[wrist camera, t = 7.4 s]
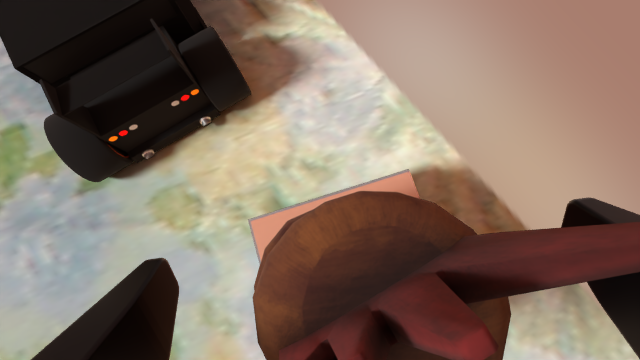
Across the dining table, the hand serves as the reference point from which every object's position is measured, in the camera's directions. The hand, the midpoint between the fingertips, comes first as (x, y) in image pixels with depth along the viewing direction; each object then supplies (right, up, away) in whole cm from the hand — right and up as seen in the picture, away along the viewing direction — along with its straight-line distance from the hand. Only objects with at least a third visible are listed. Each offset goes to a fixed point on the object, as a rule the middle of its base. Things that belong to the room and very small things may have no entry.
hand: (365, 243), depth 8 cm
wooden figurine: (+1, -3, +9) cm, 9 cm away
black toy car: (-15, +12, +18) cm, 26 cm away
